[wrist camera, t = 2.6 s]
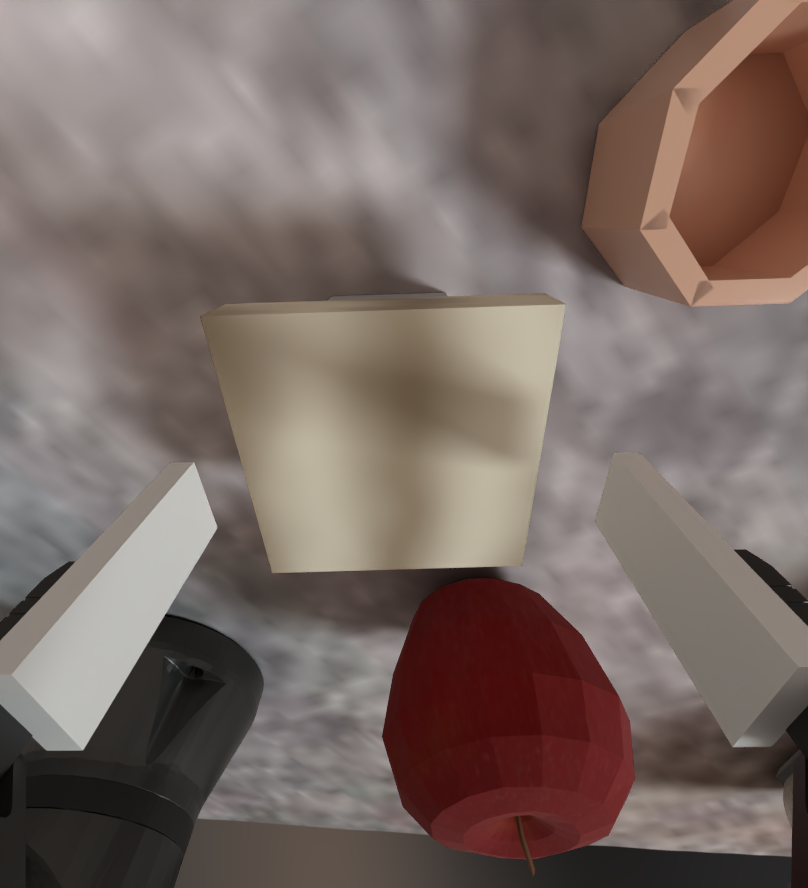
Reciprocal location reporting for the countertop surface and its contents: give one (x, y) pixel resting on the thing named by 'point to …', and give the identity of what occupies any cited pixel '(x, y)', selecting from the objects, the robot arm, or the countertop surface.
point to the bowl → (711, 164)
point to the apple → (505, 726)
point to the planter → (788, 797)
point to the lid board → (389, 425)
